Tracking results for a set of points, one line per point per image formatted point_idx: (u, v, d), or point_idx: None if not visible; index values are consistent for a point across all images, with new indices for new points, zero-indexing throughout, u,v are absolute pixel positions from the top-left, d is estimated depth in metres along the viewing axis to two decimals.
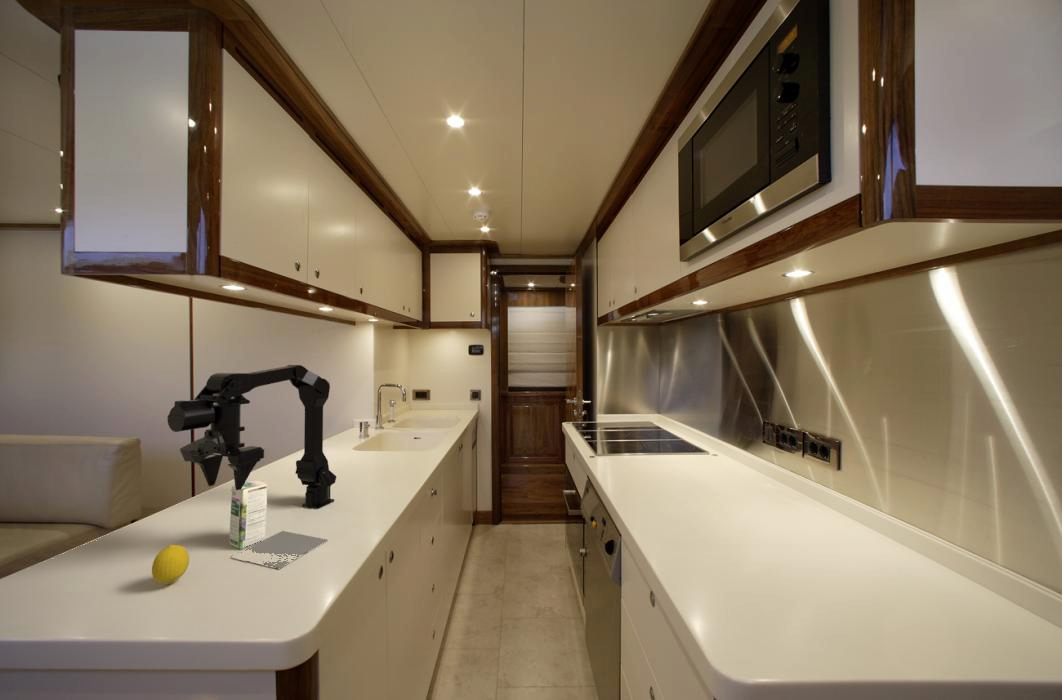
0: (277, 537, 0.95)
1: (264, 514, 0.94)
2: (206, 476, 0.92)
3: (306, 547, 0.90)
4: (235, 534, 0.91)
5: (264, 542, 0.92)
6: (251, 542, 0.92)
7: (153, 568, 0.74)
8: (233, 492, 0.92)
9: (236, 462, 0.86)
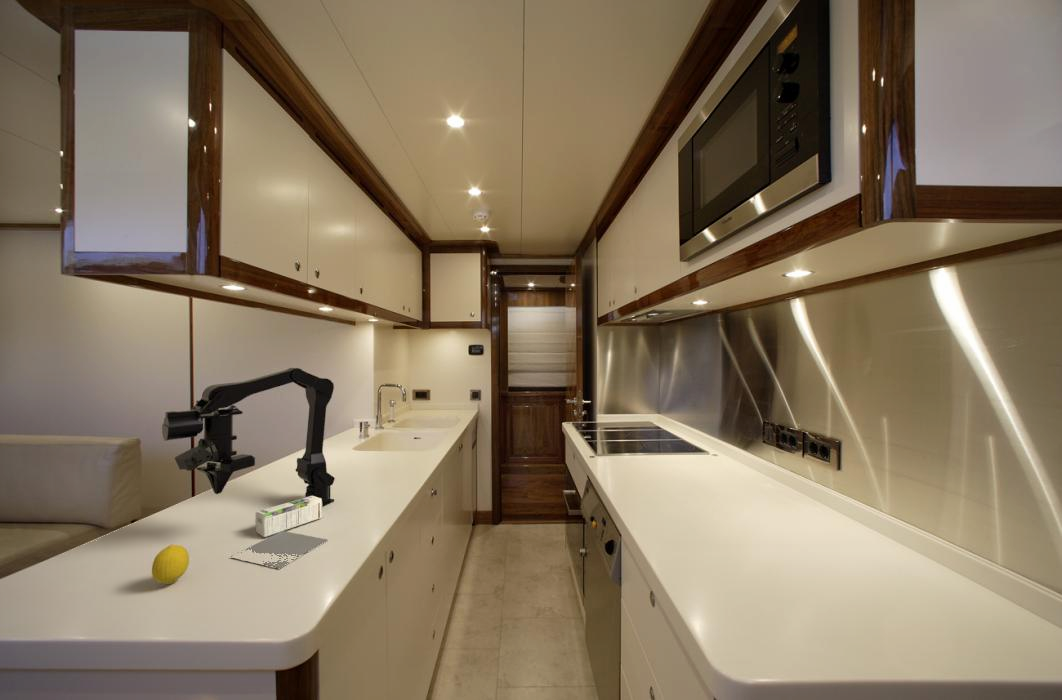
0: (277, 537, 0.95)
1: (292, 525, 1.00)
2: (212, 484, 0.96)
3: (306, 547, 0.90)
4: (274, 509, 0.99)
5: (264, 542, 0.92)
6: (267, 523, 0.96)
7: (153, 568, 0.74)
8: (309, 497, 1.08)
9: (228, 470, 0.91)
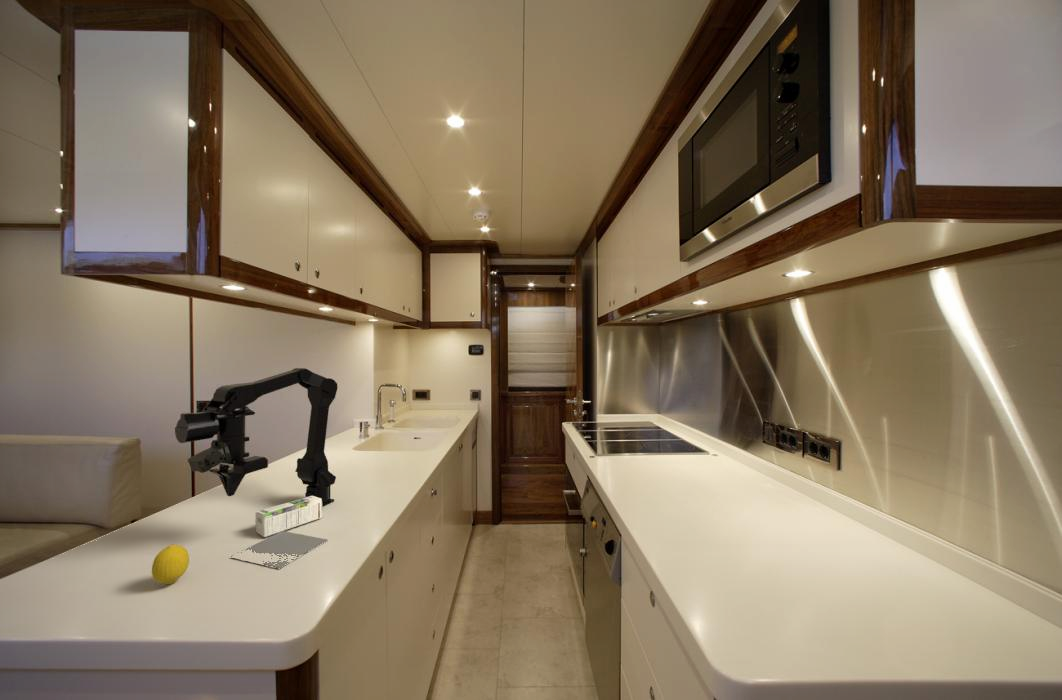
0: (277, 537, 0.95)
1: (292, 525, 1.00)
2: (225, 486, 0.95)
3: (306, 547, 0.90)
4: (274, 509, 0.99)
5: (264, 542, 0.92)
6: (267, 523, 0.96)
7: (153, 568, 0.74)
8: (309, 497, 1.08)
9: (241, 472, 0.90)
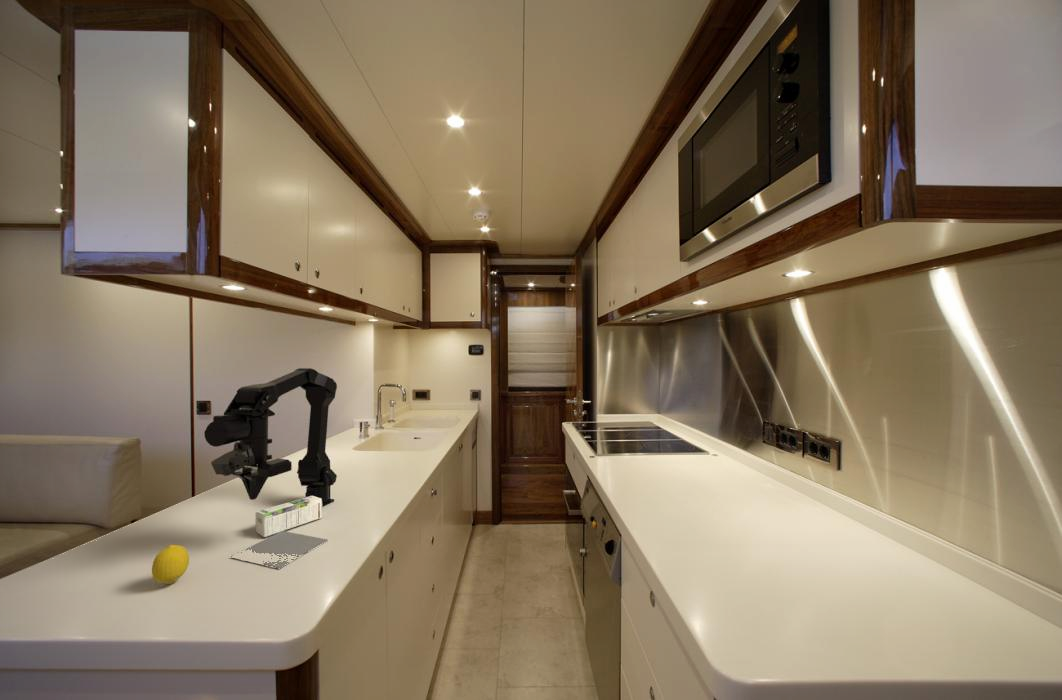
0: (277, 537, 0.95)
1: (292, 525, 1.00)
2: (248, 490, 0.92)
3: (306, 547, 0.90)
4: (274, 509, 0.99)
5: (264, 542, 0.92)
6: (267, 523, 0.96)
7: (153, 568, 0.74)
8: (309, 497, 1.08)
9: (265, 475, 0.88)
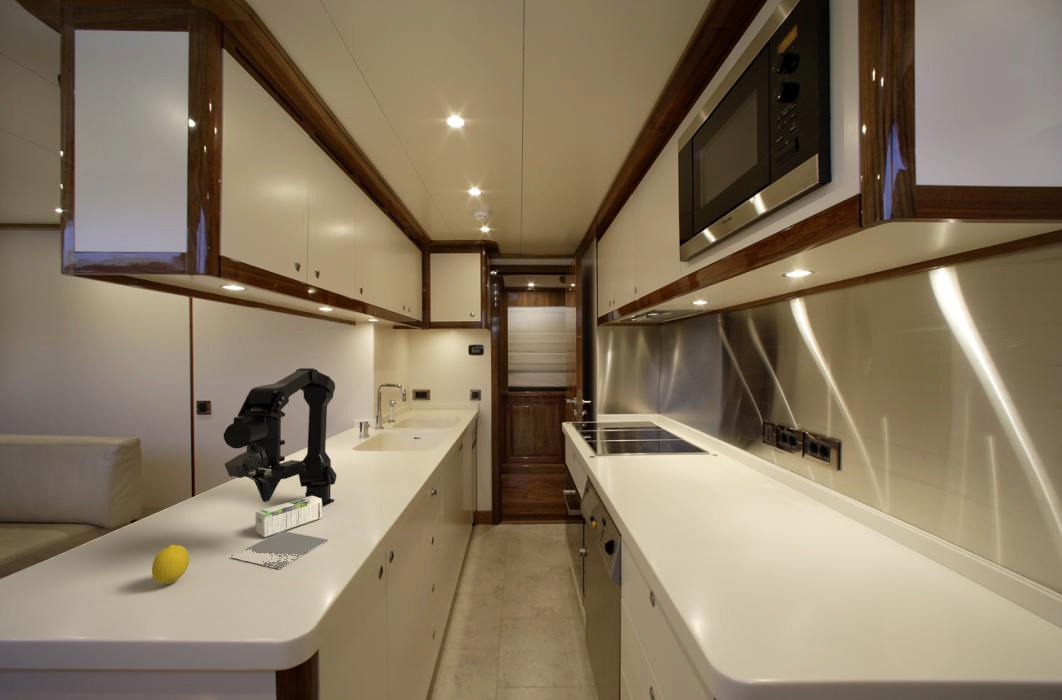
0: (277, 537, 0.95)
1: (292, 525, 1.00)
2: (260, 492, 0.91)
3: (306, 547, 0.90)
4: (274, 509, 0.99)
5: (264, 542, 0.92)
6: (267, 523, 0.96)
7: (153, 568, 0.74)
8: (309, 497, 1.08)
9: (280, 477, 0.87)
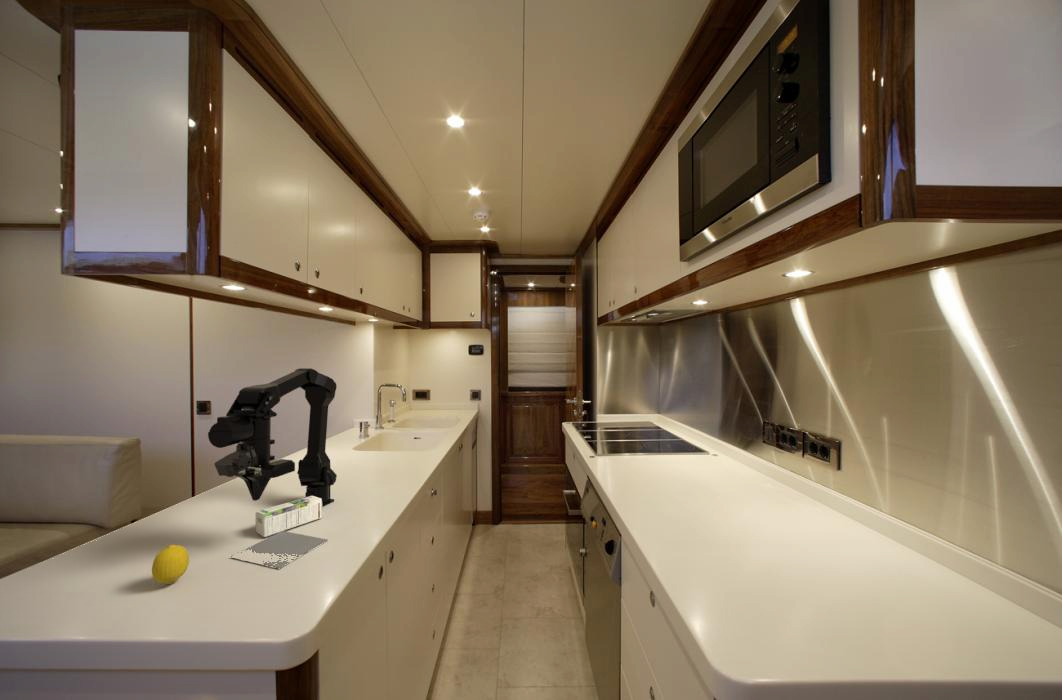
0: (277, 537, 0.95)
1: (292, 525, 1.00)
2: (250, 490, 0.92)
3: (306, 547, 0.90)
4: (274, 509, 0.99)
5: (264, 542, 0.92)
6: (267, 523, 0.96)
7: (153, 568, 0.74)
8: (309, 497, 1.08)
9: (270, 476, 0.88)
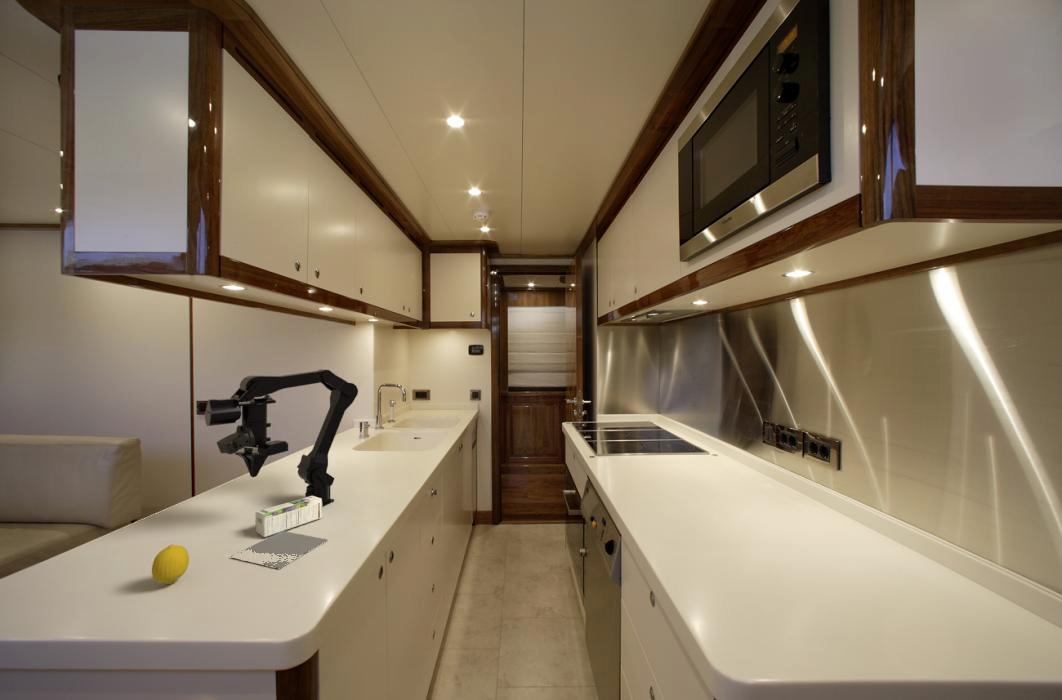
0: (277, 537, 0.95)
1: (292, 525, 1.00)
2: (249, 468, 1.03)
3: (306, 547, 0.90)
4: (274, 509, 0.99)
5: (264, 542, 0.92)
6: (267, 523, 0.96)
7: (153, 568, 0.74)
8: (309, 497, 1.08)
9: (265, 454, 0.99)
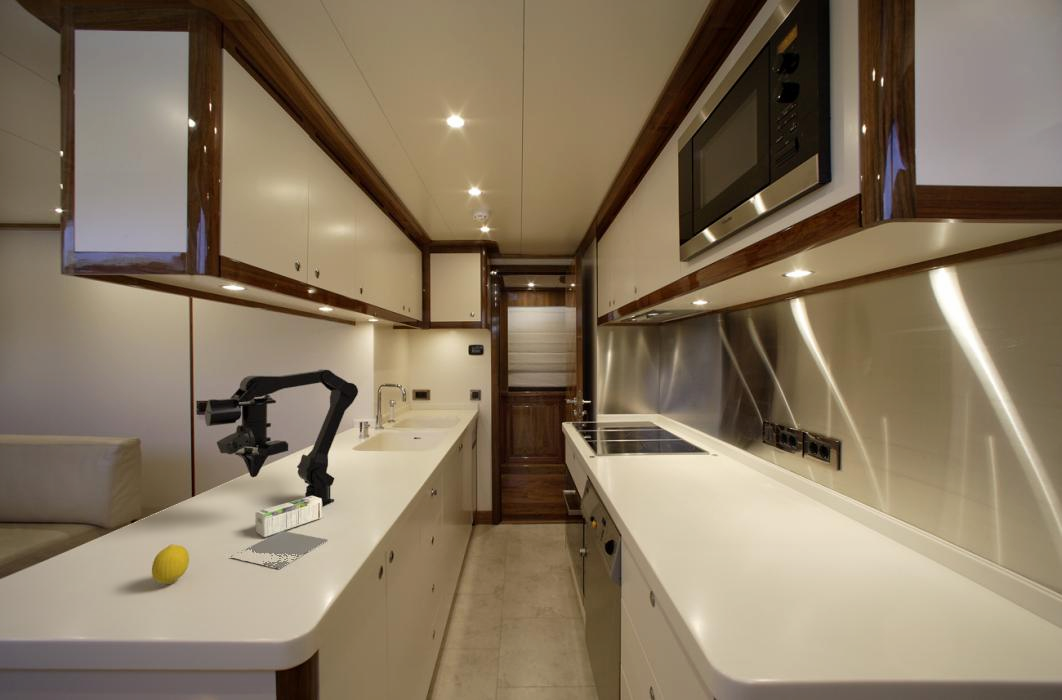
0: (277, 537, 0.95)
1: (292, 525, 1.00)
2: (249, 468, 1.03)
3: (306, 547, 0.90)
4: (274, 509, 0.99)
5: (264, 542, 0.92)
6: (267, 523, 0.96)
7: (153, 568, 0.74)
8: (309, 497, 1.08)
9: (265, 454, 0.99)
